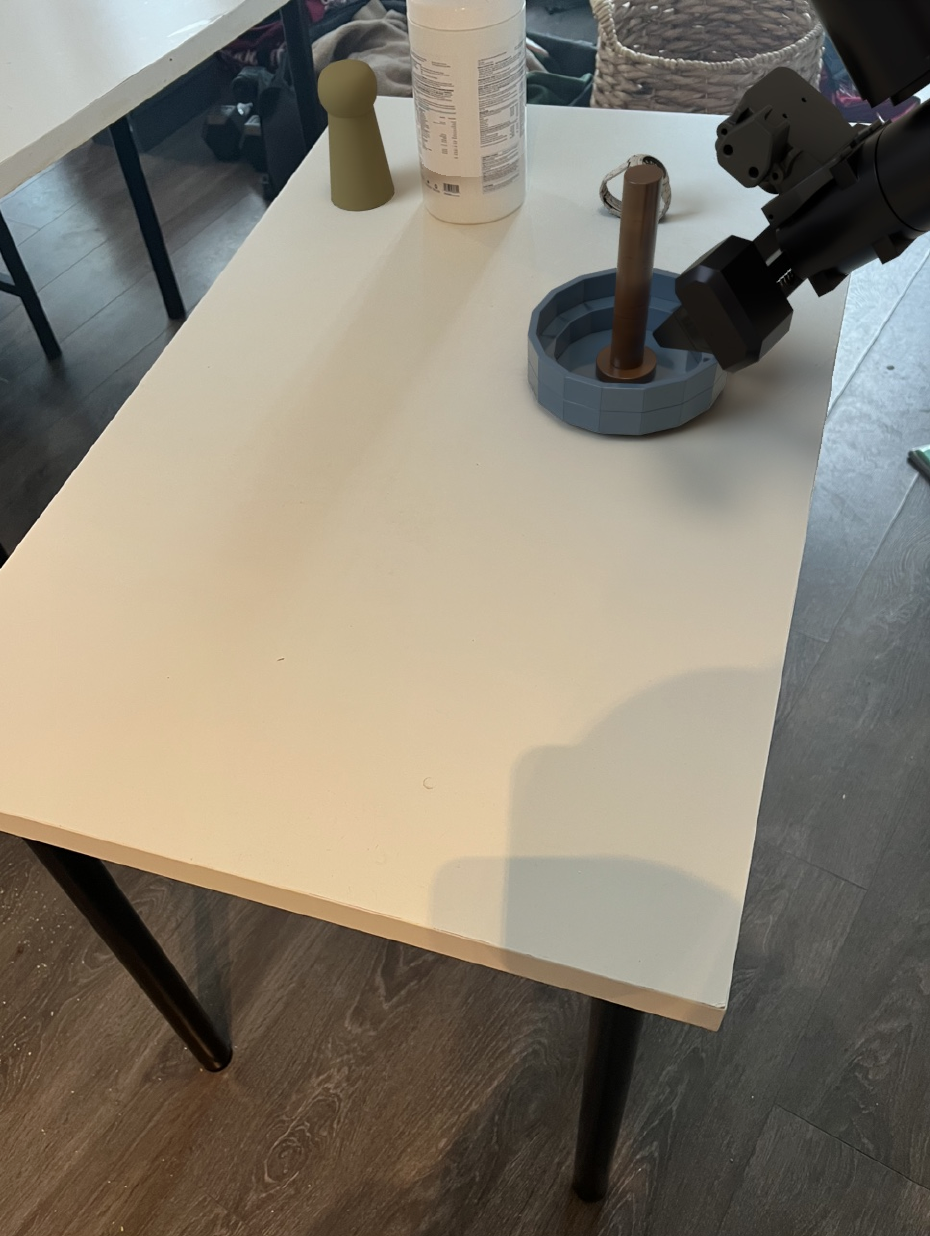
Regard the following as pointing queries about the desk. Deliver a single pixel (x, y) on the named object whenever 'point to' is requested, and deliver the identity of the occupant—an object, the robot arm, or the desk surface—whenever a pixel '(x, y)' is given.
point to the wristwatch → (639, 159)
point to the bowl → (582, 327)
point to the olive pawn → (354, 136)
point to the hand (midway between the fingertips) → (696, 303)
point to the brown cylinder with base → (633, 280)
